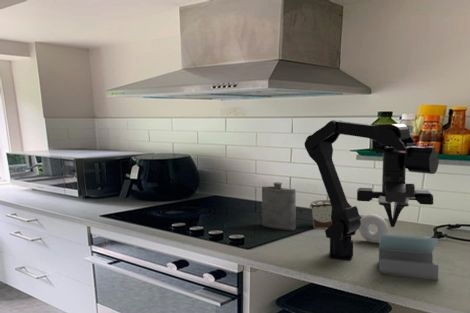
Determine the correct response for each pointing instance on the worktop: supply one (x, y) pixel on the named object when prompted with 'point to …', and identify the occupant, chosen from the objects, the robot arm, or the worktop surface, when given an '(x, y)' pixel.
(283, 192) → the flask
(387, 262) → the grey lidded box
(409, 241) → the cover
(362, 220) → the donut
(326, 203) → the food container
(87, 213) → the worktop surface
